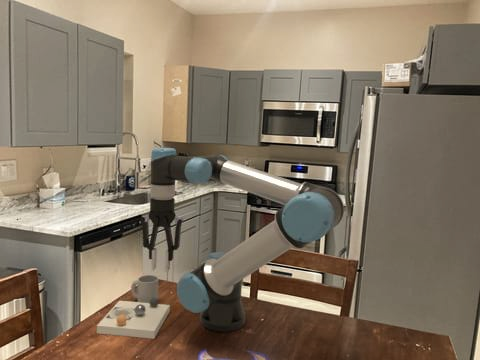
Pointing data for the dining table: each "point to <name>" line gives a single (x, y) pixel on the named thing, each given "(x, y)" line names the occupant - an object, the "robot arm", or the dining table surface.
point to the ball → (140, 310)
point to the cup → (145, 288)
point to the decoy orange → (121, 319)
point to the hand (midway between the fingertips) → (160, 269)
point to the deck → (134, 320)
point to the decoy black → (153, 302)
